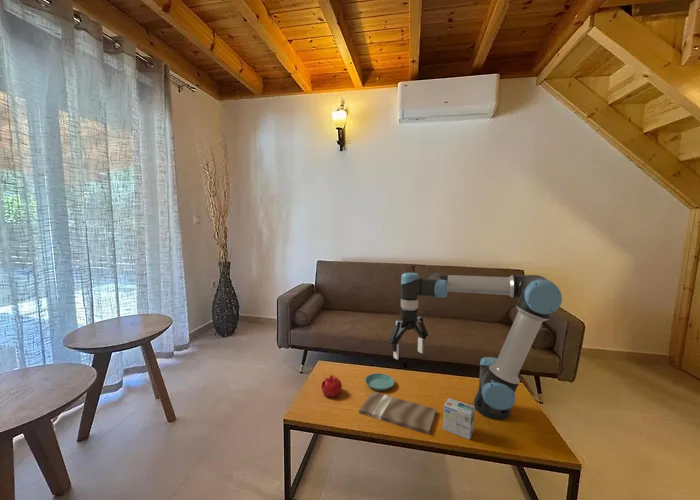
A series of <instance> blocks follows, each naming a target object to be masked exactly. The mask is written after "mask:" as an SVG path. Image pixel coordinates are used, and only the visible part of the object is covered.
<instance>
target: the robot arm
mask: <svg viewBox="0 0 700 500" xmlns="http://www.w3.org/2000/svg"><path fill="white" fill-rule="evenodd" d="M400 277H401V278H400V279H401V280H400V320H398V319H396V320H394V324H393V328H392V330H391V333H390V336H389V338H388V343H389V344H391V347H392V348H391V349H392V352H393V353H392V354H393V356H392V357H393V359H395V360H399V357H400V355H399V350H400V347H399V346H400V344H399V342H400V340H401V338H402V337H403V335H404V333H406V332H407V331H409V330H410V331H411V330H414V331H415V332H416V334H417V335H418V336H419V337H417V352H419V353H420V354H424V346H425V340H426V339H427V337H428V336H429V333H428V331H427V329H426V325H425V323H424V318H423V317H422V316H419V309H418V308H419V296H420V297H430V298H431V297H432V298H438V299H439V298H440V299H441V298H447V297H448V292H449V293H451V292H454V293H470V294H486V295H487V294H488V295H501V296H509V297H510V298H513V299H518V300H517V303H516V305H515V307H516V309H517V313H516V316H515V318H514V321H513V323H512V325H511V328H510V329H509V332H508V334H507V336H506V338H505V341H504V342H503V345H502V348H501V350H500V352H499V354H498V356H497V357H493V356H492V357H491V356H483V357H482V358H480V363H479V380H478V381H479V382H478V390H477V392H476V394H475V397H474V398H473V406H475V408H474V410H475V411H476V412H477V413H479V414H480V415H482V416H484V417H486V418H489V419H494V420H499V421H500V420H506V419H508V418H510V417H511V411H512V410H511V408H512V407H514V405H515V403H516V391H517V389H518V387H519V384H520V381H521V380H520V378H519V374H520V371H521V369H522V367H523V365H524V362H525V360H526V358H527V356H528V354H529V352H530V350H531V348H532V345H533V344H534V341H535V339H536V336H537V335H538V332H539V330H540V328H541V326H542V324H543V322H546V321H549V320H550V318H551V316H552V314H553V313H554V312H556V311H557V310H558V309H559V308H560V307H561V305H562V303H563V302H562V301H563V297H562V293H561V292H562V291H561V290H560V289H559V287H558V286H557V285H556V284H555V283H554V282H553V281H550V280H549V279H547V278H546V277H545V276H541V275H537V274H517V275H515V274H511V275H510V276H509V277H507V276H505V277H504V276H483V275H461V274H460V275H457V274H455V275H454V274H441V273H438V272H437V273H433V274H431V275H430V276H429V277H428V278H421V277H420V275H419V273H417V272H404V273H402V274H401V276H400ZM417 324H418V325H417Z"/></svg>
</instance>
